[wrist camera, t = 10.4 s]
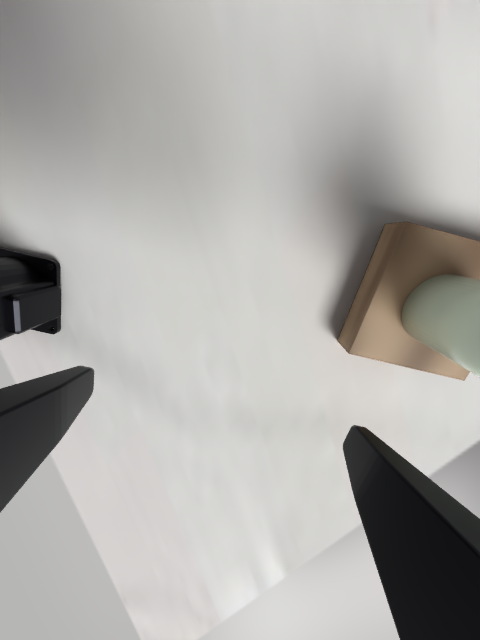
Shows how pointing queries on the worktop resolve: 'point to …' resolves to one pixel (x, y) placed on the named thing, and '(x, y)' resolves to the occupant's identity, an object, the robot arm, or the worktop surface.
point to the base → (405, 295)
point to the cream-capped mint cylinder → (447, 318)
